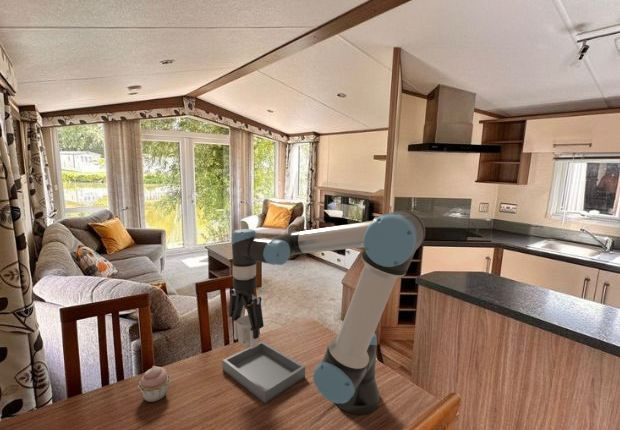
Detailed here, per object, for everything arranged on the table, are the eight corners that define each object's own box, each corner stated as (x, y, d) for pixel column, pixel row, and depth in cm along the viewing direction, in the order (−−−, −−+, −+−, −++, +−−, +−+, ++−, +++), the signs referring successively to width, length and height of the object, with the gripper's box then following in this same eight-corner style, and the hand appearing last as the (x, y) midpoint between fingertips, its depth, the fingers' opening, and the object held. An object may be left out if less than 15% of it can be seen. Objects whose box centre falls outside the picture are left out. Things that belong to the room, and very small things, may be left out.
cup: (253, 354, 99) (252, 330, 98) (229, 352, 100) (228, 328, 99) (263, 337, 110) (263, 315, 109) (242, 335, 111) (241, 314, 110)
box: (305, 377, 110) (305, 366, 110) (265, 403, 97) (265, 391, 97) (261, 350, 126) (261, 341, 126) (222, 370, 113) (222, 359, 113)
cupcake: (157, 382, 106) (156, 354, 105) (177, 391, 102) (176, 362, 101) (131, 399, 98) (130, 369, 96) (151, 410, 94) (150, 379, 92)
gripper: (274, 280, 99) (275, 348, 101) (234, 268, 112) (236, 328, 115) (256, 286, 93) (257, 358, 96) (216, 272, 106) (218, 336, 109)
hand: (246, 342), depth 105 cm, fingers closed on cup, 8 cm apart
